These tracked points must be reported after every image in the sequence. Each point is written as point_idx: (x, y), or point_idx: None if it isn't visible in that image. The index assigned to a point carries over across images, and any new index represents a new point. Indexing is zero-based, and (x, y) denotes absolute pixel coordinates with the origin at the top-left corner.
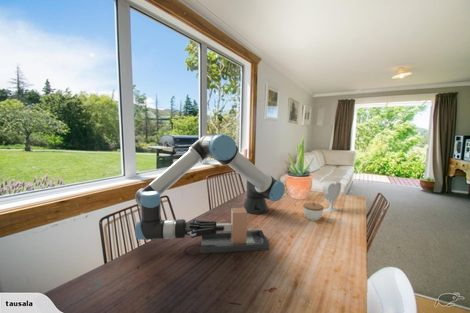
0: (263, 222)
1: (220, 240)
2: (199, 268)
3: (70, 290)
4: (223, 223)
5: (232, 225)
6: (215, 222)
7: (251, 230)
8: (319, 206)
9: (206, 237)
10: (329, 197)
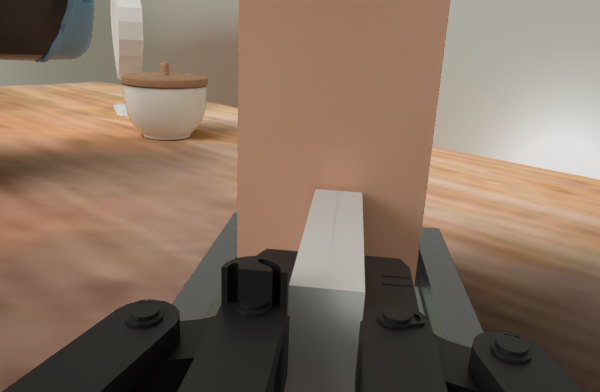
0: (66, 209)
1: None
2: None
3: None
4: (306, 228)
5: (401, 189)
6: (281, 269)
7: (215, 241)
8: (188, 74)
9: None
10: (142, 55)
